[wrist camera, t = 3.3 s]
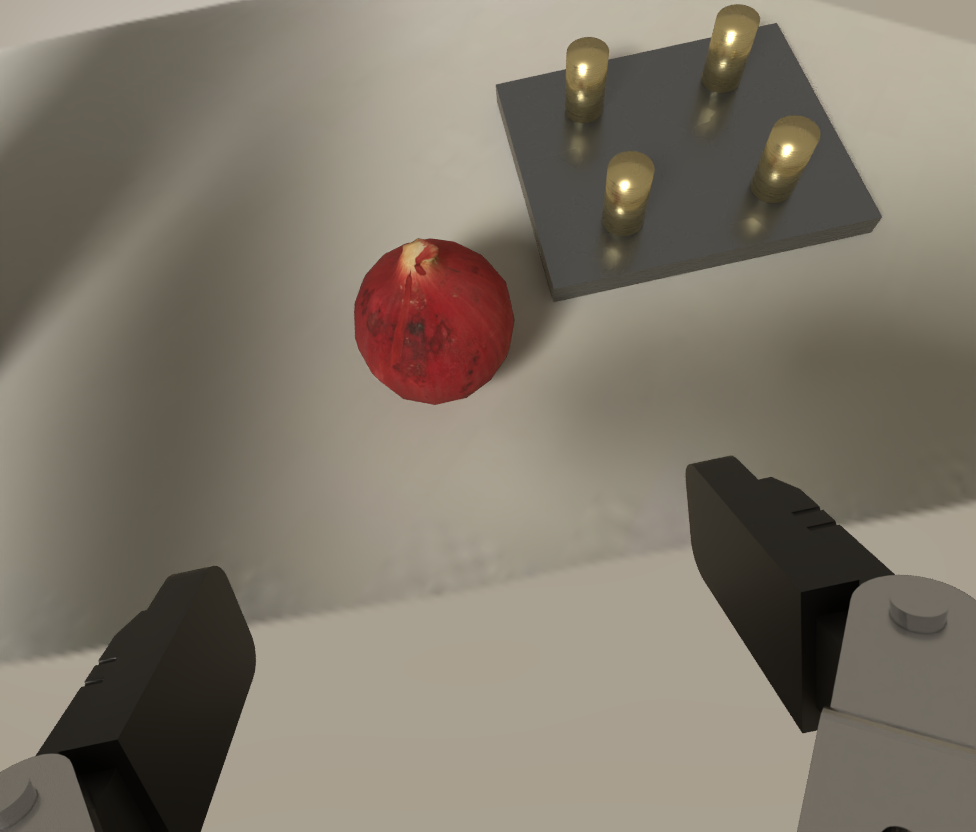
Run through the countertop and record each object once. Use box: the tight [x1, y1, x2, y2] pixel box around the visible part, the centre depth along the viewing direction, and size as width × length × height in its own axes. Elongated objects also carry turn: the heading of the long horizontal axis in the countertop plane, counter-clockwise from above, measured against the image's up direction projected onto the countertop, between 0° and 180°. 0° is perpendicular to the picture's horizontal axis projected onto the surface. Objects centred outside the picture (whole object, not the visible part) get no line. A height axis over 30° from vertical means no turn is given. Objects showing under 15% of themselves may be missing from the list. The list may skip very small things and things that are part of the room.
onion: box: [354, 238, 514, 405], centre depth 24 cm, size 6×6×8 cm
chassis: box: [496, 4, 882, 302], centre depth 29 cm, size 14×12×4 cm
